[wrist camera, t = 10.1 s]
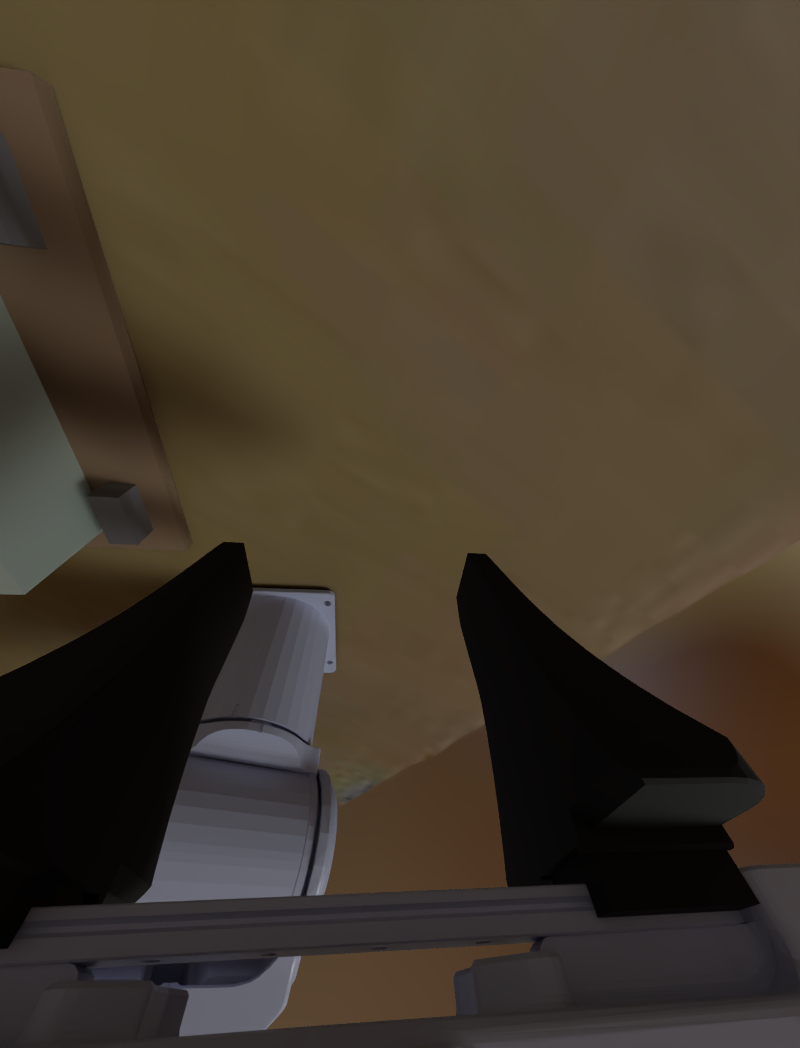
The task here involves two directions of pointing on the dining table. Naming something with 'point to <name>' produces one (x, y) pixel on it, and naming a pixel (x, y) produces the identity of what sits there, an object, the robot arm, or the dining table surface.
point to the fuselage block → (35, 476)
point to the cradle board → (78, 324)
